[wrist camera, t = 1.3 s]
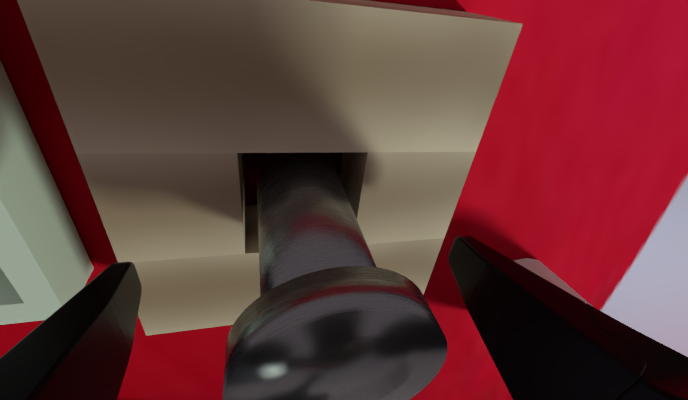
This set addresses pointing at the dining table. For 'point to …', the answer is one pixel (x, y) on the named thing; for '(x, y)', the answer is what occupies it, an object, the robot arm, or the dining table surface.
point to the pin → (325, 301)
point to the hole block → (264, 127)
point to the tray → (33, 225)
